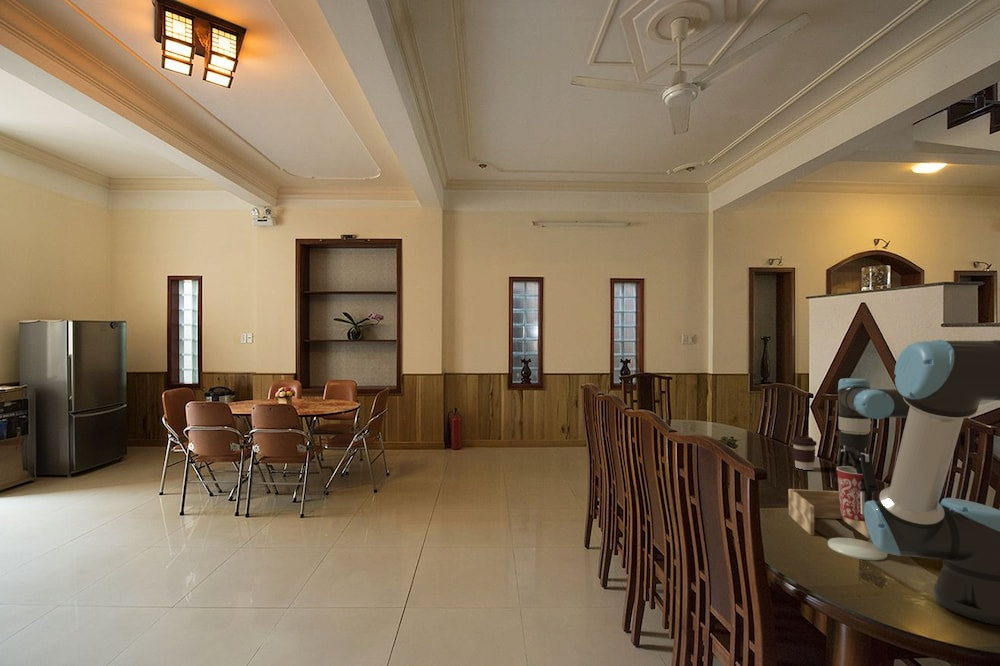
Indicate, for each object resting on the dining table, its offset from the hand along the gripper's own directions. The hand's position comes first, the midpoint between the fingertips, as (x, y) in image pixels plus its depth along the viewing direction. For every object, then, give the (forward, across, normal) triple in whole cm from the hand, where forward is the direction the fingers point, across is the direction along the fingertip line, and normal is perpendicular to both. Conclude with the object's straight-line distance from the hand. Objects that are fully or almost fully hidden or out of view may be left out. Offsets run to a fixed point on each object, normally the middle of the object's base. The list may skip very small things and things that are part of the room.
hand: (855, 507), depth 144 cm
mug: (+3, 0, 0) cm, 3 cm away
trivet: (+12, 0, 0) cm, 12 cm away
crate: (+12, +19, 0) cm, 22 cm away
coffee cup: (+13, +96, -21) cm, 99 cm away
